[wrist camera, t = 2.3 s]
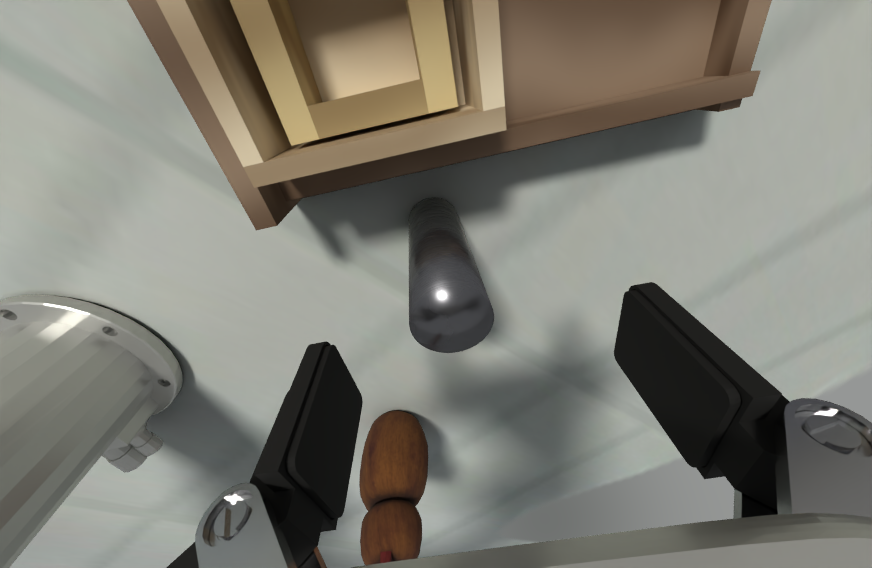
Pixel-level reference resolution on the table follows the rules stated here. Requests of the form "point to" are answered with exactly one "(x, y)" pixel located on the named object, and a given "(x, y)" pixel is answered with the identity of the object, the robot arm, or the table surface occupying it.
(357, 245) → the table surface
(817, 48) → the table surface
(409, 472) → the wooden figurine
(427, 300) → the handle peg
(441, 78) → the crate
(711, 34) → the tray
